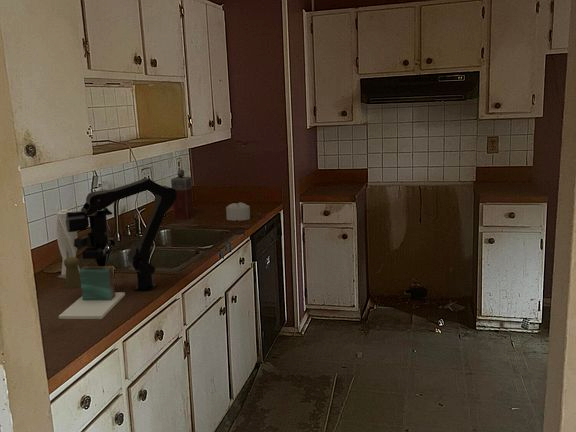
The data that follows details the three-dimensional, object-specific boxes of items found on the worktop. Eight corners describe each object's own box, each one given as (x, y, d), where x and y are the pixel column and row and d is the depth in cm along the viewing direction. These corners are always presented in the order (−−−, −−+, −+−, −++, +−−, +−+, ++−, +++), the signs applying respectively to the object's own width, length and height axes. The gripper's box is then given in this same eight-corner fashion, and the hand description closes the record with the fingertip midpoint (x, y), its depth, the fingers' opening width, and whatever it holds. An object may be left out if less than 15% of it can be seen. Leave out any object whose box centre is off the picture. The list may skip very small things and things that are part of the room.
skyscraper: (55, 276, 226) (47, 207, 220) (71, 271, 233) (64, 203, 227) (70, 279, 222) (62, 209, 216) (86, 273, 229) (79, 205, 223)
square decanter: (176, 215, 336) (173, 168, 330) (193, 216, 334) (191, 168, 328) (169, 218, 328) (166, 170, 322) (187, 219, 325) (184, 170, 319)
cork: (84, 283, 217) (81, 255, 215) (79, 288, 212) (76, 259, 209) (68, 283, 217) (65, 255, 215) (63, 288, 211) (59, 260, 209)
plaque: (87, 296, 200) (84, 266, 198) (115, 296, 199) (112, 266, 197) (82, 300, 196) (79, 269, 194) (111, 300, 195) (108, 269, 193)
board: (86, 295, 204) (86, 292, 204) (124, 295, 203) (124, 292, 203) (58, 318, 183) (58, 315, 182) (101, 318, 182) (101, 316, 182)
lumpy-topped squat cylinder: (231, 216, 332) (231, 201, 330) (252, 217, 328) (252, 202, 326) (224, 220, 322) (224, 204, 320) (246, 221, 318) (245, 205, 316)
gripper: (87, 222, 208) (91, 263, 211) (64, 234, 189) (68, 279, 193) (117, 222, 207) (120, 263, 210) (96, 234, 189) (101, 279, 192)
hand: (102, 271), depth 201 cm, fingers closed
